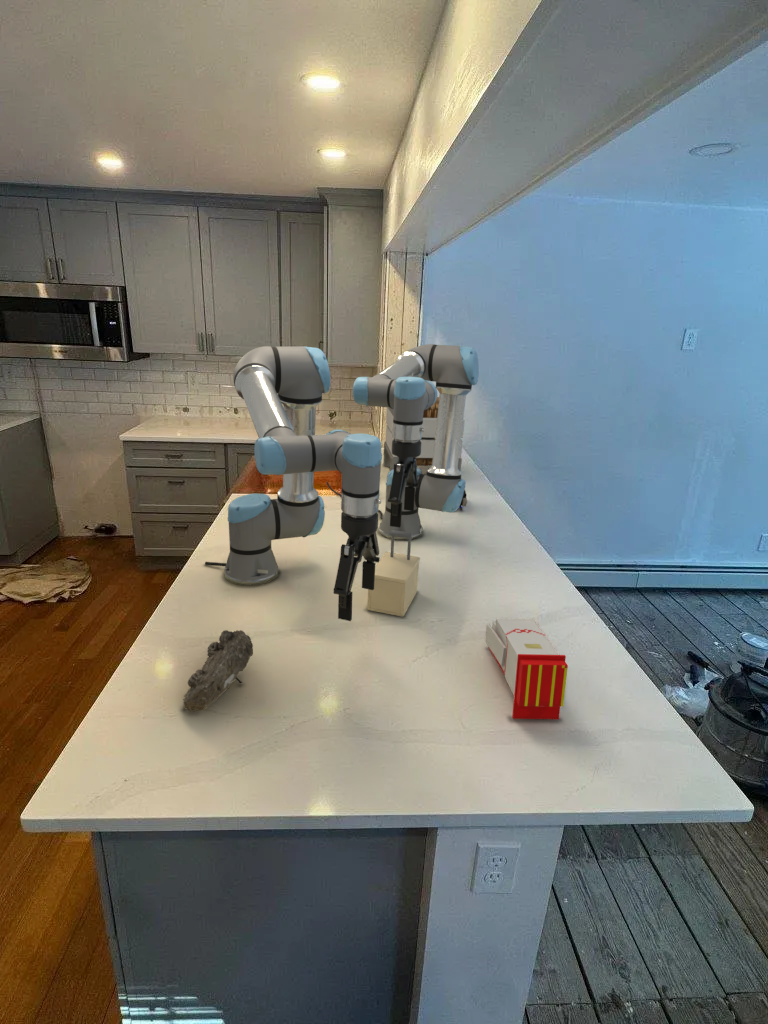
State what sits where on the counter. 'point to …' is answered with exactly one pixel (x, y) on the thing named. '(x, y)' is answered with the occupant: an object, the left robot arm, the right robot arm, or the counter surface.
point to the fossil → (219, 669)
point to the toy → (529, 667)
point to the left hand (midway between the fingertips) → (357, 603)
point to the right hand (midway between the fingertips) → (402, 517)
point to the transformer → (426, 439)
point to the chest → (393, 595)
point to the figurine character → (463, 501)
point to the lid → (396, 561)
